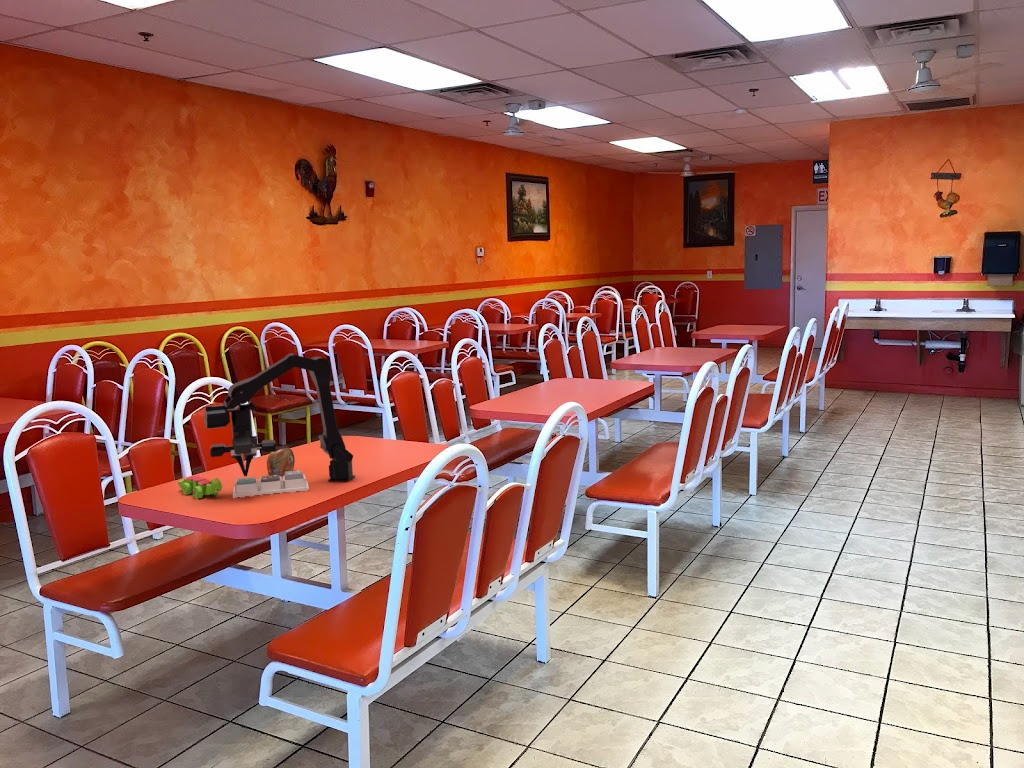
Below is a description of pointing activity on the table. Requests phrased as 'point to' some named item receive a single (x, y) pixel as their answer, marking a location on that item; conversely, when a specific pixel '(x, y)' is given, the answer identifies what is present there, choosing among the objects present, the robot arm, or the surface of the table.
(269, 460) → the brown flat rounded piece
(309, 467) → the table surface
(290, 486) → the keypad
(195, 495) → the toy crocodile
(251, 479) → the key one dot
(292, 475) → the key two dots
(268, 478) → the key three dots
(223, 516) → the table surface
